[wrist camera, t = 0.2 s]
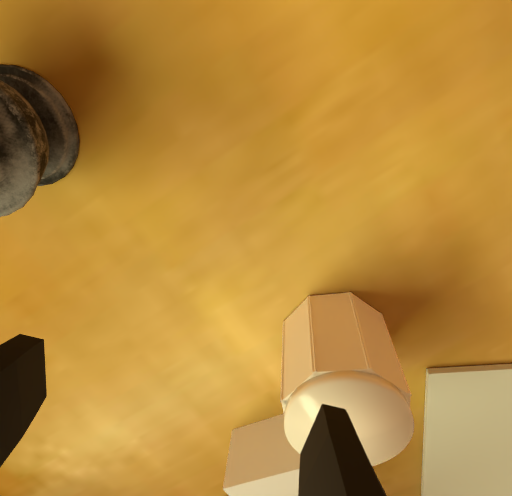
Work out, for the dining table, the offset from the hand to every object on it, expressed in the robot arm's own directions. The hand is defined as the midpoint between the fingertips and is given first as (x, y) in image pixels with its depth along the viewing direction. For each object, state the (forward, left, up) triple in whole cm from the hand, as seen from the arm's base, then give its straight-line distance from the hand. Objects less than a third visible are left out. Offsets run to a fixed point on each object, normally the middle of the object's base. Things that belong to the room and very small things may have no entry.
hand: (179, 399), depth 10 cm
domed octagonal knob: (-6, -4, -10) cm, 13 cm away
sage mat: (-15, -15, -10) cm, 24 cm away
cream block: (-15, 0, -10) cm, 18 cm away
